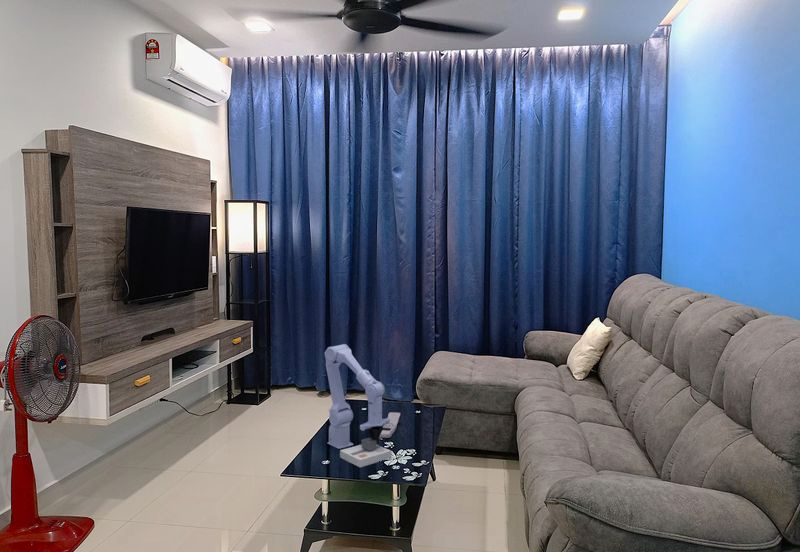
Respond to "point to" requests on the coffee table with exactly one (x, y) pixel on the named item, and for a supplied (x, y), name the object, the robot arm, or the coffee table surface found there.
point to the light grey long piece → (390, 425)
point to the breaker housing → (364, 455)
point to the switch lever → (369, 444)
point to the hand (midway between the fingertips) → (375, 443)
